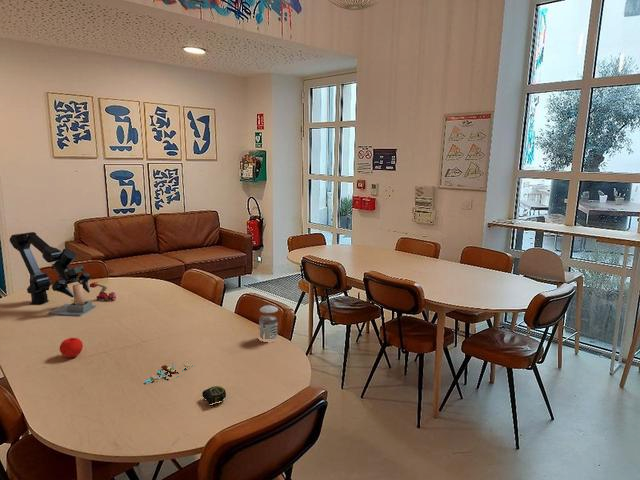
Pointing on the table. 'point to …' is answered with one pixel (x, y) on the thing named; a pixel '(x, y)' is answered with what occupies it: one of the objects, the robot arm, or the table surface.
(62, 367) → the table surface
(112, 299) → the toy fire truck
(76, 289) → the peg
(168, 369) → the gear mechanism
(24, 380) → the table surface
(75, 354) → the apple
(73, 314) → the jig cradle
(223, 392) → the tape measure
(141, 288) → the table surface
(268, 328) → the french press
